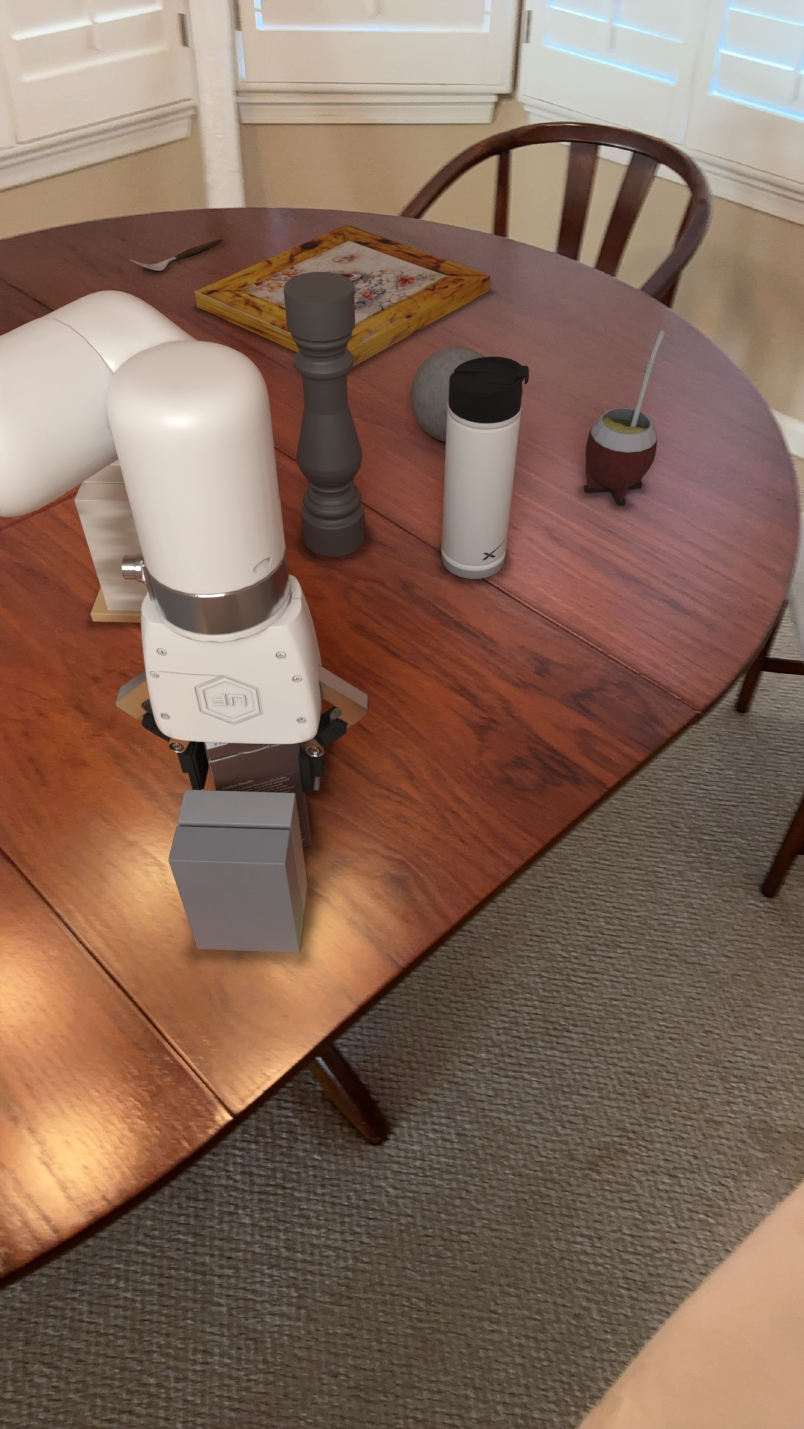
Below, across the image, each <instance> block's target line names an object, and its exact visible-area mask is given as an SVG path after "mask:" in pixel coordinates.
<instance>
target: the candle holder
mask: <svg viewBox="0 0 804 1429" xmlns="http://www.w3.org/2000/svg"><path fill="white" fill-rule="evenodd" d="M284 299H285V310H286V321H287V328H288V330H289V331H290V333H291V337H292V338H293V340H294V341H295V343H296V344H297V347H298V349H299V351H298V352H296V353H294V354H293V359H292V366H293V368H294V370H295V371H296V373H297V374H299V375H300V376H301V380H302V394H303V405H304V406H303V413H302V419H301V425H300V430H299V438H298V444H297V449H296V454H295V457H296V458H295V460H296V464H297V466H298V469H299V470H300V473H301V474H302V476H303V477H304V478H305V479H306V480H307V481H306V482H307V484H308V486H307V488H306V489H305V490H304V491H303V495H302V499H301V501H302V506H301V511H300V519H301V529H302V539H303V540H302V541H303V542H304V545H305V547H306V548H307V549H308V550H309V551H310V552H312V553H314V554H315V555H319V556H323V557H328V558H329V557H330V558H331V557H332V558H333V557H335V558H339V557H343V556H348V555H351V554H353V553H354V552H357V551H358V550H360V548H361V547H362V545H363V544H364V543H365V537H366V526H365V524H366V522H365V506H364V505H363V503H362V493H361V492H360V490H359V489H358V487H357V485H355V484H354V481H355V477H356V476H357V474H358V472H359V471H360V470H361V467H362V463H363V462H362V460H363V449H362V446H361V442H360V439H359V436H358V433H357V429H356V424H355V422H354V419H353V415H352V412H351V409H350V406H349V401H348V379H347V377H348V375H349V373H350V371H351V370H352V369H353V367H354V366H353V361H354V356H353V355H352V353H351V352H350V351H349V350H348V349H347V345H348V342H349V340H350V339H351V337H352V330H353V329H354V328H355V301H354V284H353V282H352V281H351V280H350V279H349V278H347V277H345V276H343V275H341V274H336V273H331V272H310V273H304V274H300V275H298V276H295V277H292V278H291V279H290V280H288V281H287V282H286V283H285V286H284Z"/></svg>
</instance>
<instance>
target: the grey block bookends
mask: <svg viewBox="0 0 804 1429" xmlns="http://www.w3.org/2000/svg"><path fill="white" fill-rule="evenodd" d="M321 712H322V713H324V711H323V699H322V698H321ZM321 778H322V777H315V783H314V791H320V784H321ZM167 861H168V864H169V867H170V871H171V873H172V877H173V879H174V882H175V884H176V888H177V891H178V894H179V898H180V901H181V903H182V906H183V909H184V913H185V916H186V918H187V921H188V924H189V927H190V930H191V933H192V937H193V939H194V942H195V945H196V949H197V950H211V951H215V950H216V951H239V952H240V951H241V952H242V951H243V952H268V953H269V952H271V953H295V954H296V953H298V954H299V953H301V945H302V937H303V928H304V917H305V912H306V903H307V894H308V887H309V885H308V878H307V871H306V870H307V869H306V863H305V856H304V847H303V848H302V840H301V833H300V825H299V818H298V810H297V803H296V796H295V793H277V792H245V791H216V790H211V789H209V790H208V789H206V790H205V789H202V790H192V789H184V792H183V797H182V800H181V805H180V809H179V813H178V818H177V826H176V827H175V830H174V835H173V839H172V842H171V847H170V852H169V856H168V860H167Z"/></svg>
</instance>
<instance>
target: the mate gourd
mask: <svg viewBox="0 0 804 1429" xmlns="http://www.w3.org/2000/svg"><path fill="white" fill-rule="evenodd" d="M665 334H666V332H665V331H664V330H660V331H659V332H658V334H657V337H656V340H655V343H654V345H653V347H652V350H651V352H650V356H649V358H648V361H647V362H646V364H645V367H644V371H643V372H644V376H643V379H642V383H641V387H640V390H639V394H638V398H637V400H636V404H635V408H628V407H627V408H626V407H618V408H612V409H609V410H606V411H604V412H603V413H602V414H601V415H600V416H599V417H598V418H596V420H595V421H593V423H592V425H591V428H590V430H589V432H588V436H587V440H586V445H585V468H584V470H585V478H586V485H584V486H583V491H584V493H585V494H595V493H607V492H608V493H610V494H611V496H612V498H613V499H614V501H615V504H616V505H617V506H618V507H625V505H626V503H627V501H626V499H625V496H626V493H627V491H628V490H638V489H642V487H643V484H644V483H643V482H642V481H641V480H642V479H643V477H645V475H646V474H647V473H648V471H649V470H650V468H651V467H652V465H653V463H654V460H655V458H656V453H657V446H658V431H657V429H656V426H655V425H654V422H653V421H652V419H651V418H650V416H648V415H647V414H645V413H644V412H642V406H643V403H644V399H645V396H646V392H647V389H648V385H649V382H650V379H651V374H653V372H654V368H655V365H656V364H655V361H656V358H657V356H658V352H659V350H660V347H661V344H662V342H663V339H664V336H665Z"/></svg>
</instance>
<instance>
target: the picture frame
mask: <svg viewBox="0 0 804 1429" xmlns="http://www.w3.org/2000/svg"><path fill="white" fill-rule="evenodd" d="M310 272H331V273H336V274H341V275H343V276H345V277H347V278H349V279H350V280H351V281H352V282H353V284H354V301H355V328H354V329H353V330H352V337H351V339H350V340H349V342H348V345H347V349H348V350H349V351H350V352H351V353H352V355H353V356H354V361H353V367H355V366H357V365H359V364H360V363H363V362H365V361H366V360H368V359H369V358H372V357H373V356H375V355H377V354H379V353H381V352H382V351H384V350H386V349H388V348H389V347H391V346H393V345H395V344H397V343H398V342H400V341H402V340H403V339H406V338H407V337H409V336H411V335H413V334H415V333H416V332H418V331H420V330H422V329H423V328H425V327H427V326H429V325H430V324H432V323H434V322H436V321H438V320H439V319H442V318H443V317H445V316H447V315H449V314H450V313H452V312H454V311H456V310H458V309H459V308H461V307H463V306H465V305H466V304H469V303H470V302H472V301H473V300H476V299H477V298H479V297H481V296H482V295H484V294H486V293H488V292H489V291H490V284H491V283H490V282H491V281H490V280H491V275H490V274H487V273H484V272H482V271H479V270H477V269H474V268H472V267H471V268H470V267H468V266H465V265H462V264H459V263H457V262H453V261H451V260H448V259H445V258H443V257H440V256H437V255H434V254H431V253H428V252H426V251H422V250H420V249H417V248H415V247H412V246H409V245H406V244H403V243H400V242H398V241H395V240H392V239H389V238H386V237H383V236H380V235H378V234H374V233H372V232H369V231H367V230H364V229H360V228H358V227H355V226H353V225H350V224H344V225H342V226H340V227H338V228H335V229H333V230H330V231H328V232H325V233H324V234H322V235H319V236H317V237H314V238H312V239H310V240H308V241H305V242H302V243H300V244H299V245H297V246H294V247H292V248H290V249H287V250H285V251H283V252H281V253H279V254H276V255H274V256H272V257H269V258H267V259H265V260H263V261H260V262H258V263H255V264H253V265H251V266H248V267H246V268H244V269H241V270H239V271H238V272H235V273H233V274H231V275H228V276H226V277H224V278H222V279H220V280H217V281H215V282H213V283H210V284H208V285H205V286H204V287H202V288H199V289H197V290H195V291H194V296H195V297H194V298H195V302H196V308H198V309H200V310H202V311H204V312H207V313H209V314H210V315H212V316H213V315H214V316H215V317H217V318H220V319H222V320H225V321H227V322H229V323H231V324H233V325H235V326H238V327H240V328H243V329H245V330H246V331H249V332H251V333H253V334H256V335H258V336H260V337H262V338H265V339H267V340H269V341H271V342H274V343H276V344H278V345H280V346H282V347H284V348H287V349H289V350H291V351H293V352H296V353H297V352H298V351H299V349H298V347H297V344H296V343H295V341H294V340H293V338H292V337H291V333H290V331H289V330H288V328H287V321H286V310H285V299H284V286H285V283H286V282H287V281H288V280H290V279H291V278H292V277H295V276H298V275H300V274H304V273H310Z"/></svg>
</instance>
